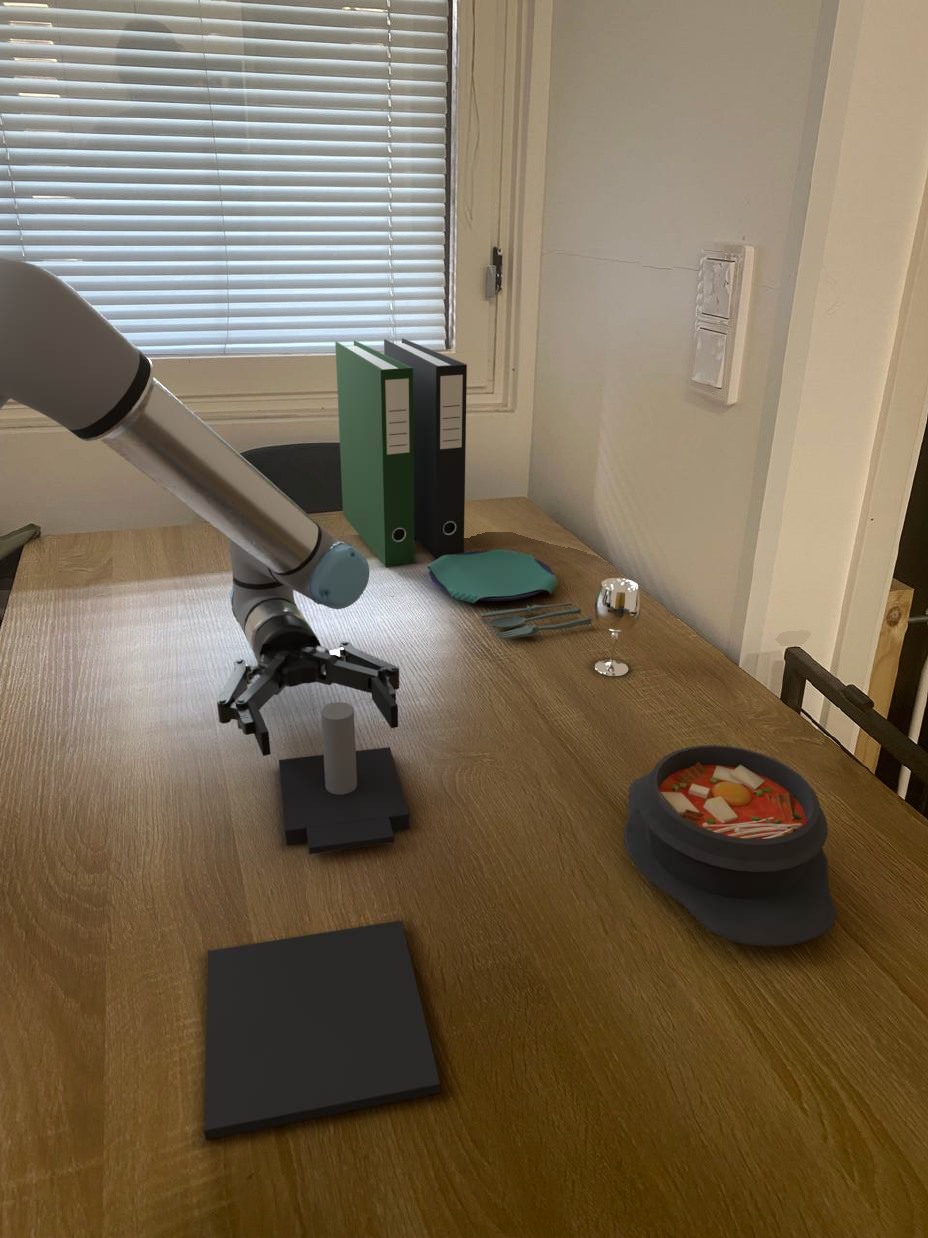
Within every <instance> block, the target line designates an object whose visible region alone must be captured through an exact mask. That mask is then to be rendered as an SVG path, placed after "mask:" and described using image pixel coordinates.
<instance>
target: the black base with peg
mask: <svg viewBox="0 0 928 1238" xmlns="http://www.w3.org/2000/svg"><path fill="white" fill-rule="evenodd" d="M320 717H321V718H320V719H321V732H322V733H321V735H322V750H323V754H320V755H319V754H318V755H309V756H300V757H291V758H283V759H278V767H279V777H280V779H279V781H280V791H281V799H282V800H281V801H282V811H283V823H284V833H285V844H286V846H291V845H298V844H305V843H307V846H308V853H309V855H315V854H323V853H330V852H338V851H345V850H351V849H358V848H365V847H366V848H367V847H372V846H380V845H387V844H395V834H394V831H400V830H401V831H402V830H409V829H410V812H409V807H408V805H407V801H406V797H405V794H404V790H403V788H402V783H401V779H400V777H399V774H398V770H397V767H396V764H395V763H396V762H395V760H394V756H393V753H392V749H391V747H390V746H387V747H386V746H385V747H377V748H370V749H360V750H356V728H355V727H356V726H355V710H354V707H353V706H352V705H351V704H349V703H346V702H340V701H339V702H331V703H328V704H326V705H324V706H323V707H322V708H321V711H320Z"/></svg>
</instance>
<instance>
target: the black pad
mask: <svg viewBox="0 0 928 1238" xmlns="http://www.w3.org/2000/svg"><path fill="white" fill-rule="evenodd" d="M206 978H207V980H206V1019H205V1020H206V1021H205V1025H206V1026H205V1067H204V1068H205V1069H204V1108H203V1109H204V1110H203V1112H204V1113H203V1114H204V1115H203V1133H204V1139H205V1140H206V1141H209V1140H214V1139H219V1138H224V1137H228V1136H233V1135H238V1134H243V1133H249V1132H253V1131H258V1130H264V1129H268V1128H273V1127H278V1126H283V1125H288V1124H293V1123H298V1122H302V1121H307V1120H308V1121H309V1120H313V1119H318V1118H323V1117H328V1116H333V1115H338V1114H343V1113H348V1112H352V1111H353V1112H354V1111H357V1110H358V1111H359V1110H364V1109H368V1108H372V1107H377V1106H382V1105H387V1104H393V1103H397V1102H403V1101H408V1100H413V1099H417V1098H422V1097H427V1096H432V1095H438V1094H441V1081H440V1076H439V1071H438V1067H437V1063H436V1058H435V1055H434V1052H433V1051H434V1050H433V1046H432V1043H431V1042H432V1041H431V1038H430V1034H429V1030H428V1025H427V1020H426V1017H425V1013H424V1008H423V1004H422V999H421V995H420V992H419V987H418V984H417V978H416V974H415V971H414V967H413V961H412V958H411V953H410V949H409V945H408V940H407V936H406V933H405V929H404V923H403V921H402V920H401V919H400V920H394V921H388V922H383V923H377V924H369V925H363V926H357V927H351V928H350V927H349V928H345V929H344V928H343V929H338V930H337V929H336V930H333V931H332V930H331V931H325V932H319V933H312V934H306V935H299V936H293V937H286V938H280V939H274V940H268V941H262V942H255V943H250V944H243V945H235V946H230V947H224V948H217V949H210V950H208V951H207V977H206Z"/></svg>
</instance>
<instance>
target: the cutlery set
mask: <svg viewBox="0 0 928 1238" xmlns="http://www.w3.org/2000/svg"><path fill="white" fill-rule="evenodd" d="M427 568H428V570H429V571H428V575H429V579H430V581H431V583H432V584H433V585H435V586H436V587H437V588H438V589H440V590H441V591H442V592H443V591H444V592H446V593H448V594H450V596H451V597H452V598H453V599H455V600H459V601H464V602H468V603H471V604H474V603H475V602H477V601H487V602H506V601H508V602H509V601H516V600H521V599H525V598H526V599H527V598H531V597H533V596H535V595H537V594H540V593H542V592H544V591H547V592H549V595H551V594H552V593H553V592H554V591H555V590H556V589H557V586H558V580H557V577H556V576H555V573H554V571H553V570H552V569H551V567H550V565H548V564H546V563H544V562H543V561H541V560H540V559H537V558H535V557H533V556H532V555H531V554H529V553H527V554H526V553H525V552H520V551H514V550H509V549H501V548H496V549H493V550H492V549H490V550H489V549H486V550H485V549H483V550H469V551H464V552H463V553H458V554H453V555H443V556H441V557H440V558H438V559H435V560H434V561H432V562H431V563H429V565H427ZM568 606H570V607H571V608H568V609H563V610H558V611H552V612H548V613H545V614H544V613H543V614H540V615H536V616H532V617H528V618H526V617H523V616H517V615H515V614H520V613H528V615H531V613H532V612H540V611H542V610H543V609H550V608H555V607H556V608H557V607H568ZM572 607H573V603H572V602H571V601H568V602H563V603H558V604H546V605H540V604H533V605H531V606H530V605H528V604H526V607H523V608H511V609H510V608H509V609H503V610H495V611H489V612H485V613H483V614H481V616H480V618H481V619H484V618H485V619H486V618H492V617H495V618H492V619H491V620H488V621H487V624H488V625H489V626H490V627H492V628H497V629H504V630H507V631H503V632H502V631H501V632H495V635H496V636H497V637H498V639H502V640H503V639H505V640H506V639H512V638H523V637H531V636H534V635H536V634H537V633H538V632H539V631H541V632H542V631H557V630H564V629H569V628H574V627H578V626H590V625H592V620H593V619H592V617H589V616H587V617H583V618H578V619H573V620H570V621H565V622H561V623H555V624H546V625H545V624H544V625H536V624H535V623H534V624H532V625H528V624H526V625H524V626H522V625H523V624H524V623H528V622H533V621H536V620H537V621H538V620H542V619H547V618H552V617H561V616H568V615H570V616H571V615H581V614H582V609H581V608H580V607H573V608H572ZM513 614H514V615H513ZM506 615H507V616H506ZM520 626H522V627H520ZM509 629H510V630H509Z"/></svg>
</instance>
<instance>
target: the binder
mask: <svg viewBox="0 0 928 1238" xmlns="http://www.w3.org/2000/svg"><path fill="white" fill-rule="evenodd" d="M334 344H335V366H336V387H337V388H336V389H337V409H338V410H337V412H338V432H339V454H340V456H339V458H340V477H341V496H342V497H341V500H342V516H343V517H344V518H345V520H346V521H347V522H348V523H349V524H350V525H351V527H352V528H353V530H354V531H355V532H356V533H357V534H358V535H359V537H360V538H361V539H362V540H363V541H364V543H365V544H366V545H367V547H369V549H370V551H372V552H373V554H374V555H375V556H376V558H378V560H379V561H380V562H381V563H382V565H383V566H384V567H385V568H387V567H393V566H399V565H401V566H402V565H406V564H408V565H409V564H414V563H415V560H416V559H415V557H416V556H415V555H416V554H415V553H416V551H415V540H416V541H417V542H418V543H419V544H420V545H421V546H422V547H423V548H424V549H425V550H426V551H427V552H428V553H429V554H430V555H431V556H432V558H433V559H435V560H437V559H438V558H440V557H441V556H443V555H453V554H458V553H463V552H465V513H466V512H465V511H466V509H465V506H466V505H465V504H466V496H465V495H466V450H467V449H466V447H467V444H466V443H467V442H466V441H467V388H468V386H467V385H468V383H467V382H468V381H467V379H468V363H465V362H462V361H460V360H457V359H455V358H452V357H450V356H447V355H445V354H442V353H440V352H438V351H435V350H433V349H431V348H428V347H425V346H423V345H420V344H418V343H416V342H413V341H412V340H411V341H410V340H409V339H406V338H401V343H394V342H392V341H389V340H388V339H386V338H383V353H382V352H380V351H378V350H376V349H374V348H372V347H369V346H367V345H365V344H363V343H361V342H359V341H356V340H353V345H346V346H345V345H343V344H341V343H340V342H339V341H335V343H334Z"/></svg>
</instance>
